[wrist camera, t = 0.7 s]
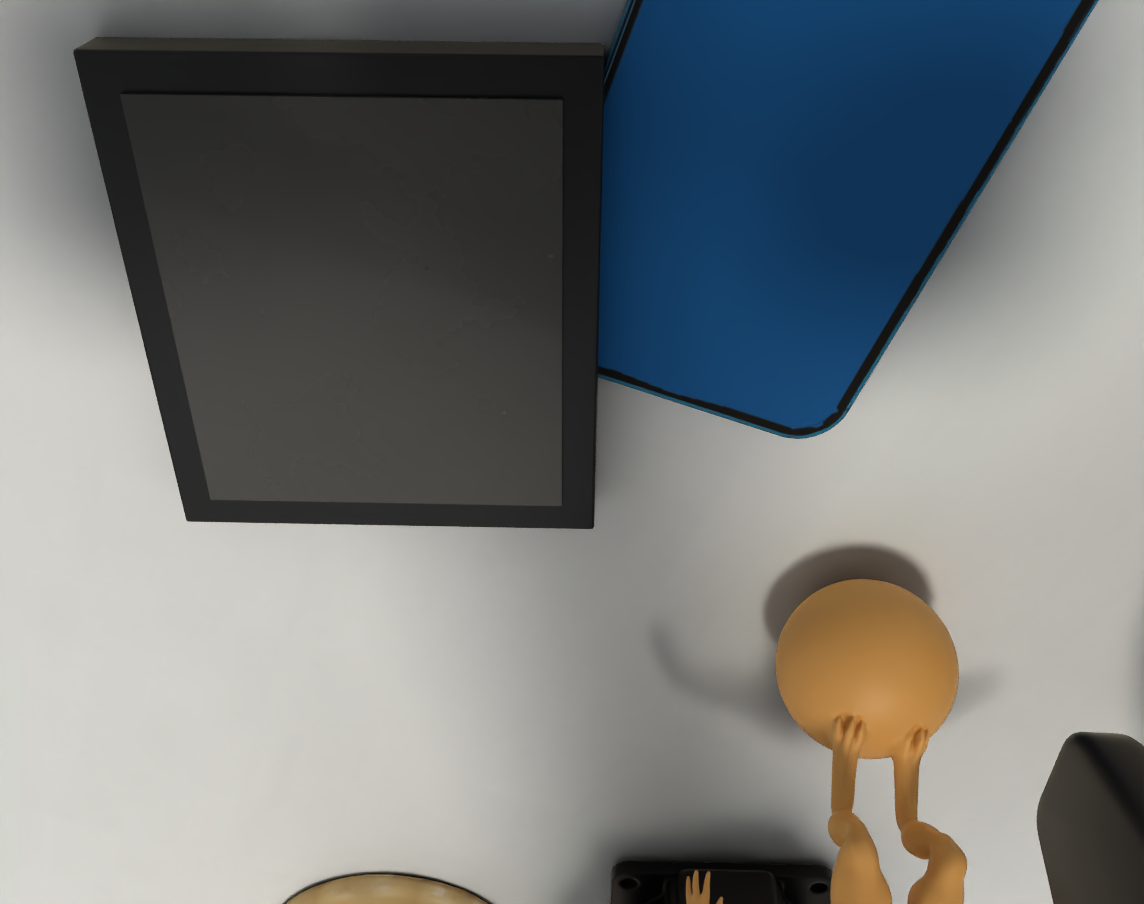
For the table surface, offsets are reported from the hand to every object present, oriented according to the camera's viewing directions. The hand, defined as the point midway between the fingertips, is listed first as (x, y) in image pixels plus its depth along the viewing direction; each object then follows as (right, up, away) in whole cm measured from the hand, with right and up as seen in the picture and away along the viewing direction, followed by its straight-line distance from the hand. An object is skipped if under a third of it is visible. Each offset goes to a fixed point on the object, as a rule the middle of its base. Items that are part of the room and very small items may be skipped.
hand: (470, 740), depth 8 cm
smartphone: (+5, +10, +11) cm, 16 cm away
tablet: (-3, +5, +13) cm, 15 cm away
